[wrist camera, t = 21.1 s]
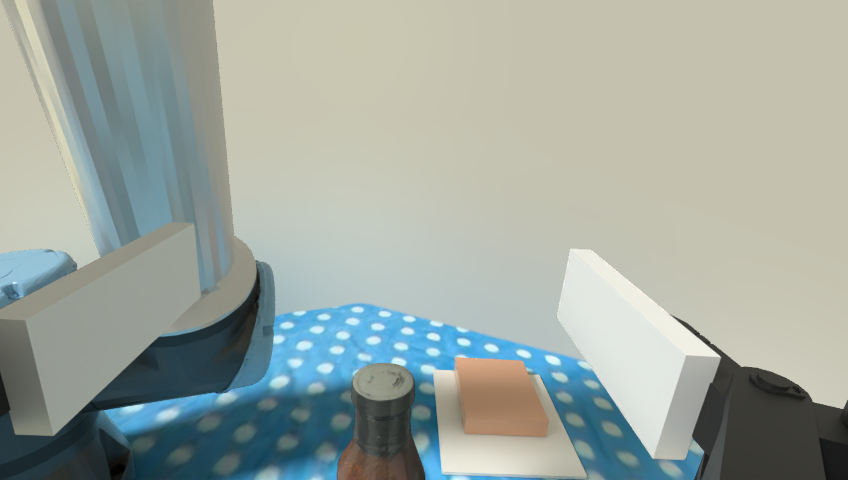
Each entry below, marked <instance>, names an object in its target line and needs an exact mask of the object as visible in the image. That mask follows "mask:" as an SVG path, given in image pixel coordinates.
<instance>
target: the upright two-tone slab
mask: <svg viewBox="0 0 848 480" xmlns="http://www.w3.org/2000/svg"><path fill="white" fill-rule="evenodd" d="M454 375H455V381H456V387H457V393H458V399H459V405H460V411H461V417H462V423H463V429H464V433H467V434H491V435H516V436H541V437H546V434H547V430H548V425H549V420H548V418H547V416H546V413H545V411H544V409H543V407H542V404H541V402H540V400H539V397H538V395H537V393H536V390H535V388H534V386H533V384H532V381H531V379H530V377H529V374H528V372H527V370H526V367H525V365H524V363H523V361H517V360H497V359H478V358H458V357H455V364H454Z"/></svg>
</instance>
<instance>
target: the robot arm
mask: <svg viewBox="0 0 848 480" xmlns="http://www.w3.org/2000/svg"><path fill="white" fill-rule="evenodd" d="M1 2H2V4H3V7H4V9H5V12H6V15H7V17H8V20H9V22H10V25H11V28H12V30H13V32H14V35H15V38H16V40H17V43H18V46H19V48H20V50H21V53H22V56H23V58H24V61H25V64H26V66H27V69H28V71H29V74H30V76H31V79H32V81H33V84H34V87H35V89H36V92H37V94H38V97H39V100H40V102H41V105H42V107H43V110H44V112H45V115H46V118H47V120H48V123H49V125H50V128H51V130H52V133H53V136H54V138H55V141H56V143H57V146H58V149H59V151H60V154H61V156H62V159H63V161H64V164H65V167H66V169H67V171H68V174H69V177H70V179H71V182H72V184H73V187H74V190H75V192H76V195H77V198H78V200H79V202H80V205H81V208H82V210H83V213H84V215H85V218H86V221H87V223H88V226H89V228H90V231H91V234H92V236H93V239H94V241H95V243H96V246H97V249H98V251H99V254H100V257H101V258H99V259H98V260H95V261H93V262H91V263H90V264H88V265H86V266H84V267H82V268H80V269H78V270H77V264H76V263H75V262H74V261H73V259H72V258H71V257H70V256H69V255H68V254H67V253H65V252H62V251H53V250H49V249H44V250H42V249H38V250H24V251H17V252H9V253H3V254H0V480H135V474H136V470H135V463H134V457H133V452H132V448H131V446H130V444H129V442H128V440H127V439H126V437H125V436H124V435H123V434H122V432H121V431H120V430H119V429H118V428H117V426H116V425H115V424H114V423H113V421H112V420H111V419H110V418H109V416H108V415H107V414H106V413H105V412H104V410H108V409H114V408H120V407H127V406H133V405H139V404H145V403H152V402H158V401H164V400H170V399H176V398H183V397H189V396H195V395H202V394H208V393H217V394H222V393H226V392H228V391H230V390H231V389H236V388H241V387H246V386H250V385H253V384H255V383H257V382H259V381H260V380H261V379H262V378H263V377H264V376H265V374H266V372H267V370H268V367H269V364H270V360H271V355H272V348H273V338H274V333H273V326H274V319H275V286H274V277H273V272H272V269H271V267H270V266H269V265H268V264H267V263H264V262H259V261H257V260H256V261H255V259H254V256H253V254H252V252H251V250H250V249H249V248H248V246H247V245H246V244H245V243H244V242H243V241H241V240H240V239H238V238H237V237H236V236H234V229H233V217H232V208H231V196H230V185H229V174H228V164H227V152H226V141H225V130H224V119H223V108H222V98H221V87H220V76H219V64H218V54H217V42H216V32H215V21H214V10H213V0H1ZM557 318H558V320H559V321H560V323H561V324H562V326H563V327H564V328H565V330H566V331H567V333H568V334H569V336H570V337H571V339H572V340H573V342H574V343H575V345H576V346H577V347H578V349H579V351H580V352H581V354H582V355H583V357H584V358H585V360H586V361H587V362H588V364H589V365H590V367H591V368H592V370H593V371H594V373H595V374H596V376H597V377H598V379H599V380H600V382H601V383H602V385H603V386H604V387H605V389H606V390H607V392H608V393H609V395H610V396H611V398H612V399H613V401H614V402H615V404H616V405H617V407H618V408H619V410H620V411H621V413H622V414H623V415H624V417H625V418H626V420H627V421H628V423H629V424H630V426H631V427H632V429H633V430H634V432H635V433H636V435H637V436H638V438H639V439H640V441H641V442H642V443H643V445H644V446H645V448H646V449H647V451H648V452H649V454H650V455H651V457H652V458H653V459H670V460H685V459H686V456H687V453H688V450H689V447H690V445H691V442H692V439H694V440H695V441H696V442H697V443H698V444H699V446H700V447H701V448H702V449H703V450H704V455H703V457H702V460H701V463H700V465H699V468H698V471H697V474H696V476H695V479H694V480H848V401H847V403H846V405H845V407H844V409H840V408H836V407H831V406H827V405H823V404H818V403H814V402H812V399H811V397H810V396H809V394H808V393H807V392H806V391H805V390H804V389H802V388H801V387H800V386H799V385H797V384H795V383H794V382H792V381H790V380H788V379H787V378H785V377H782V376H780V375H777V374H775V373H773V372H770V371H766V370H762V369H759V368H753V367H741V366H740V365H738V364H737V363H736V362H735V361H733V360H732V359H731V358H730V357H728V356H727V355H726V354H725V353H723V352H722V351H721V350H720V349H718V348H717V347H716V346H715V345H713V344H710V341H708V340H707V339H706V338H705V337H703V336H702V335H700V333H699V332H697V331H696V330H695V329H694V328H692V327H691V326H689V324H687V323H686V322H684V321H682V320H680V319H678V318H676V317H674V316H672V315H670V314H668V313H667V312H666V311H665V310H663V309H662V308H661V307H660V306H659V305H657V304H656V303H655V302H654V301H652V300H651V299H650V298H649V297H648V296H646V295H645V294H644V293H643V292H642V291H640V290H639V289H638V288H637V287H636V286H634V285H633V284H632V283H631V282H629V281H628V280H627V279H626V278H625V277H623V276H622V275H621V274H620V273H619V272H617V271H616V270H615V269H614V268H612V267H611V266H610V265H609V264H608V263H606V262H605V261H604V260H603V259H602V258H600V257H599V256H598V255H596V253H594V252H593V251H592V250H583V249H570V254H569V258H568V264H567V269H566V274H565V278H564V283H563V288H562V294H561V298H560V303H559V308H558V313H557Z"/></svg>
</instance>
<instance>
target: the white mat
mask: <svg viewBox="0 0 848 480" xmlns="http://www.w3.org/2000/svg"><path fill="white" fill-rule="evenodd" d="M529 377H530V379H531V381H532V384H533V386H534V388H535V390H536V393H537V395H538V397H539V400H540V402H541V404H542V407H543V409H544V411H545V413H546V416H547V418H548V420H549V425H548V430H547V434H546V437H541V436H516V435H491V434H467V433H464V429H463V423H462V417H461V411H460V405H459V399H458V393H457V387H456V381H455V375H454V371H452V370H433V378H434V389H435V401H436V412H437V423H438V435H439V446H440V458H441V469H442V475H467V476H496V477H525V478H554V479H582V480H587V478H588V476H587V474H586V472H585V470H584V468H583V466H582V464H581V462H580V459H579V457H578V455H577V453H576V451H575V449H574V447H573V445H572V443H571V440H570V438H569V436H568V434H567V432H566V430H565V428H564V426H563V424H562V421H561V419H560V417H559V415H558V413H557V411H556V409H555V407H554V405H553V402H552V400H551V398H550V396H549V394H548V392H547V390H546V388H545V386H544V383H543V381H542V379H541V377H540V375H533V374H529Z"/></svg>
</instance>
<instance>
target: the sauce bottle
mask: <svg viewBox="0 0 848 480" xmlns="http://www.w3.org/2000/svg"><path fill="white" fill-rule="evenodd" d="M351 392H352V395H351V399H352V402H353V404H354V407H355V424H354V426H353V435H354V436H353V438H352V440H351V441H350V443H349V444H348V446H347V447H346V448H345V450H344V451H343V453H342V455H341V457H340V459H339V462H338V470H337V480H425V472H424V468H423V465H422V463H421V460H420V457H419V454H418V452H417V449H416V446H415V443H414V440H413V437H412V434H411V425H410V418H411V406H412V404H413V402H414V398H415V383H414V378H413V376H412V374H411V373H410V372H409V371H408V370H407V369H406V368H404V367H403V366H400V365H397V364H391V363H376V364H370V365H368V366H365V367H363V368H362V369H360V370H359V371H358V372H357V373H356V374H355V376H354V377H353V380H352V390H351Z"/></svg>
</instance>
